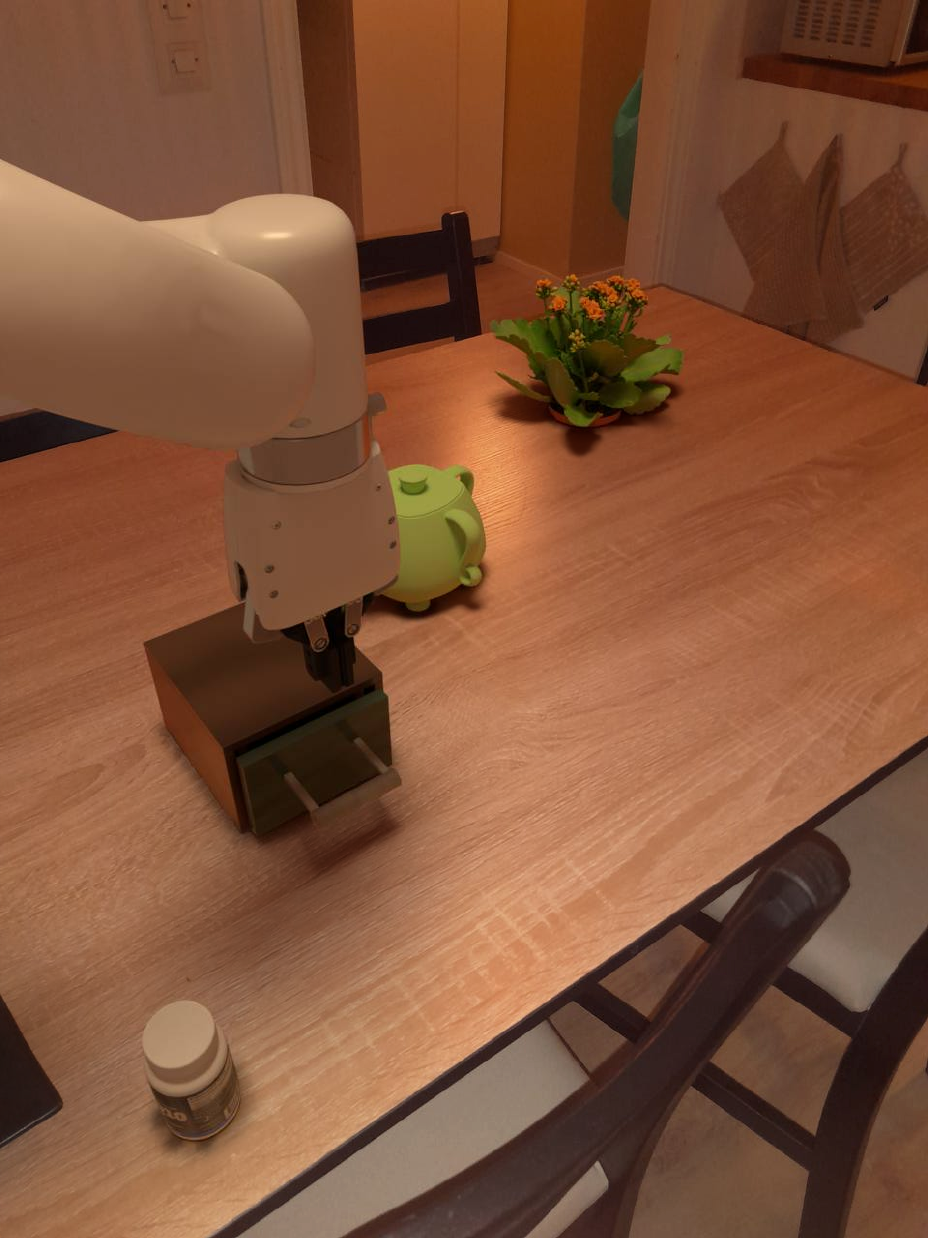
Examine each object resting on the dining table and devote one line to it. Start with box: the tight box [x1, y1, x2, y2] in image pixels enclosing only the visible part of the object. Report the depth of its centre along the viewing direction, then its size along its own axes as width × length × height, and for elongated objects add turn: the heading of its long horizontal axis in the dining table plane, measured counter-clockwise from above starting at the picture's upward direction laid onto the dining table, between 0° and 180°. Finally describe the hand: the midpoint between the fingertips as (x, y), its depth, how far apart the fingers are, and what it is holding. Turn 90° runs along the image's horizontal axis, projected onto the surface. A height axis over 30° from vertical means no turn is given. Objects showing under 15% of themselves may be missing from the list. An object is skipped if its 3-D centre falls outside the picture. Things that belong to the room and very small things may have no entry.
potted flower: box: [489, 273, 684, 428], centre depth 125 cm, size 25×24×18 cm
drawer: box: [234, 689, 403, 837], centre depth 77 cm, size 19×12×8 cm, turn 37°
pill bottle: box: [141, 1000, 242, 1141], centre depth 57 cm, size 5×5×8 cm
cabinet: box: [142, 600, 384, 834], centre depth 80 cm, size 15×14×10 cm
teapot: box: [380, 463, 487, 612], centre depth 97 cm, size 16×14×13 cm
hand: (332, 677), depth 66 cm, fingers closed
